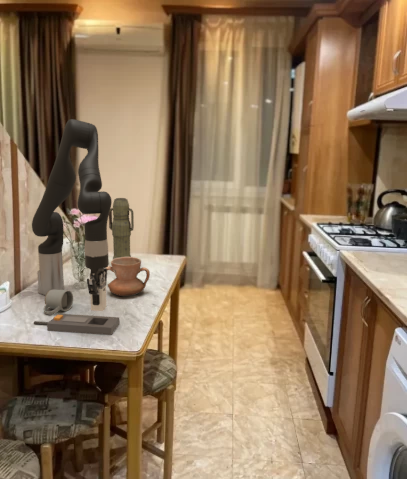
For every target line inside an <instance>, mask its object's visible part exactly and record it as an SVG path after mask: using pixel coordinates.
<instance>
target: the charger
mask: <svg viewBox="0 0 407 479" xmlns="http://www.w3.org/2000/svg"><path fill="white" fill-rule="evenodd" d="M96 285H98V284H96ZM99 290H100V291H99V298H100V304H99V305H93V301H92V294H89V295H90V296H89V297H90V310H91V311H94V312H95V311H96V312H97V311H98V312H103V311H104V310H106V308H107V306H108V305H107V304H108V303H107V282H106V281H105V282H101V287H100V288H99Z"/></svg>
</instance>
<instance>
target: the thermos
mask: <svg viewBox="0 0 407 479" xmlns="http://www.w3.org/2000/svg"><path fill="white" fill-rule="evenodd" d="M112 202H113V203H112V207H111V208H110V212H109V216H108V223H109V224H108V227H109V230H111V235H112V237H113V238H112V239H113V241H112V242H113V256H112V260H113V259H115V258H120V257H132V255H131V235H132V231H134V223H135V222H134V210H133V209H132V208H130V203H129V201H128V198H125V197H117V198H115V199H114V200H113V201H112ZM130 213H131V214H130Z"/></svg>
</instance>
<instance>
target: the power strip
mask: <svg viewBox="0 0 407 479" xmlns="http://www.w3.org/2000/svg"><path fill="white" fill-rule="evenodd" d="M120 322H121V320H120V317H119V316H117V317H116V316H102V315H89V314H87V315H86V314H70V313H56V315H55V316H54V317H52V318H51V320H49V321H40V320H37V321H36V320H34V321H33V324H34V325H40V326H41V325H43V326H45V325H46V326H47V327H46V330H47V331H49V332H64V333H77V334H79V333H80V334H90V335H91V334H94V335H95V334H96V335H107V336H108V335H110V336H112V335H113V334H114V332H115V331H116V330H117V328H118V327H119V325H120Z"/></svg>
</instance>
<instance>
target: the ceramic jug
mask: <svg viewBox="0 0 407 479" xmlns="http://www.w3.org/2000/svg"><path fill="white" fill-rule="evenodd" d="M110 263H111V266H110V265H108V267H106V268H107V271H111V272H112V273H113V274H114V276H115V278H114V279H113V280H111V281H110V282H109V283H108V284H107V288H108V289H109V291H110V293H112V294H113V295H116V296H120V297H131V296H134V295H138V294H139V293H141V292H143V291H144V289H145V288H146V286H147V285H146V284H147V282H149V280H150V276H151V274H150V273H151V272H150V270H149V268H148V267H141V266H142V259H141V258H139V257H134V256H131V257H120V258H115V259H113V258H112V260H111V261H110ZM141 272H145V273H146V278H145V280H144V282H143V281H142V280H141V279H140V278H138V277H137V276H138V274H139V273H141Z"/></svg>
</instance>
